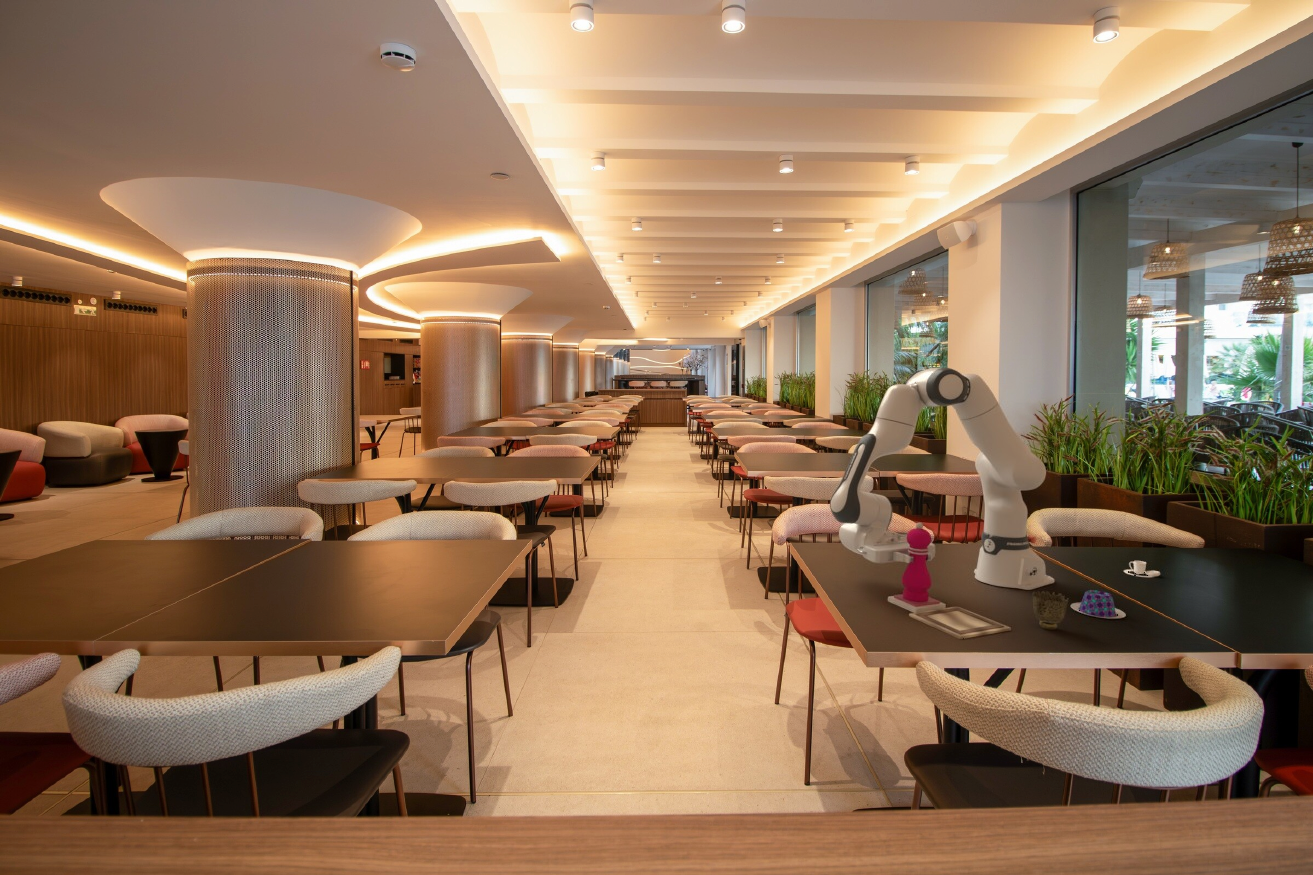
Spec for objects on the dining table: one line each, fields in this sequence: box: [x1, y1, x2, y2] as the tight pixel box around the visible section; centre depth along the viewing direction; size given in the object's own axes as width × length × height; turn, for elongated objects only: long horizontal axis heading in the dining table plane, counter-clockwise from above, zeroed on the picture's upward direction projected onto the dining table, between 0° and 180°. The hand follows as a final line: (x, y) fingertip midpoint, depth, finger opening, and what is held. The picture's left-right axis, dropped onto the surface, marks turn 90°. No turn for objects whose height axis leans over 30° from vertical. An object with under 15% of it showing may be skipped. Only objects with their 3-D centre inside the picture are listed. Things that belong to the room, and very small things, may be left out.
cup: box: [1031, 590, 1069, 631], centre depth 164 cm, size 8×7×8 cm
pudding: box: [1070, 589, 1127, 619], centre depth 176 cm, size 12×12×5 cm
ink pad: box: [887, 593, 947, 613], centre depth 179 cm, size 10×10×2 cm
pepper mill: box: [901, 522, 932, 602], centre depth 179 cm, size 7×7×20 cm
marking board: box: [908, 605, 1012, 640], centre depth 167 cm, size 16×16×1 cm
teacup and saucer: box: [1123, 560, 1161, 578], centre depth 212 cm, size 9×8×4 cm
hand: (920, 558), depth 178 cm, fingers closed on pepper mill, 5 cm apart
